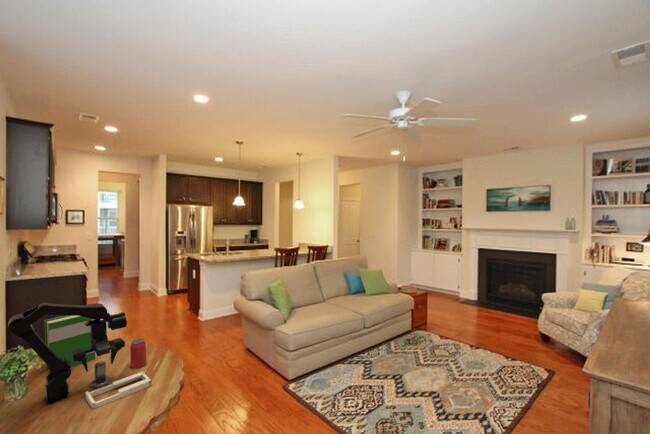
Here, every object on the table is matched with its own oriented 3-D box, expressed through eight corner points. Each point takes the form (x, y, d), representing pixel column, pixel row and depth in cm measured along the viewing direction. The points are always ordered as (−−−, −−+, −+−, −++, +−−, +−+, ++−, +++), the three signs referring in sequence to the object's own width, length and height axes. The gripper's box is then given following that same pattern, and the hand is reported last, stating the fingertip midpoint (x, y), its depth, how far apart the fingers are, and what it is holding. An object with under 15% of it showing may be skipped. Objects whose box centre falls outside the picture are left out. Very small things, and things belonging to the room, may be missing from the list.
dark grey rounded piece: (93, 390, 137) (92, 369, 137) (88, 383, 142) (88, 364, 141) (112, 383, 142) (111, 363, 142) (107, 377, 147) (106, 358, 146)
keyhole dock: (92, 409, 125) (92, 403, 124) (85, 397, 132) (85, 392, 132) (151, 385, 141) (151, 380, 141) (142, 376, 148) (142, 371, 148)
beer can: (134, 370, 153) (133, 345, 153) (128, 365, 157) (127, 341, 157) (148, 364, 159) (148, 340, 158) (142, 360, 163) (142, 337, 162)
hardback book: (50, 374, 149) (48, 323, 148) (46, 369, 153) (44, 320, 152) (95, 359, 163) (93, 313, 162) (90, 355, 167) (88, 310, 166)
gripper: (76, 345, 128) (77, 383, 129) (128, 331, 142) (129, 366, 143) (70, 337, 136) (71, 373, 137) (120, 325, 150) (121, 357, 151)
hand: (99, 367), depth 141 cm, fingers open, 9 cm apart
